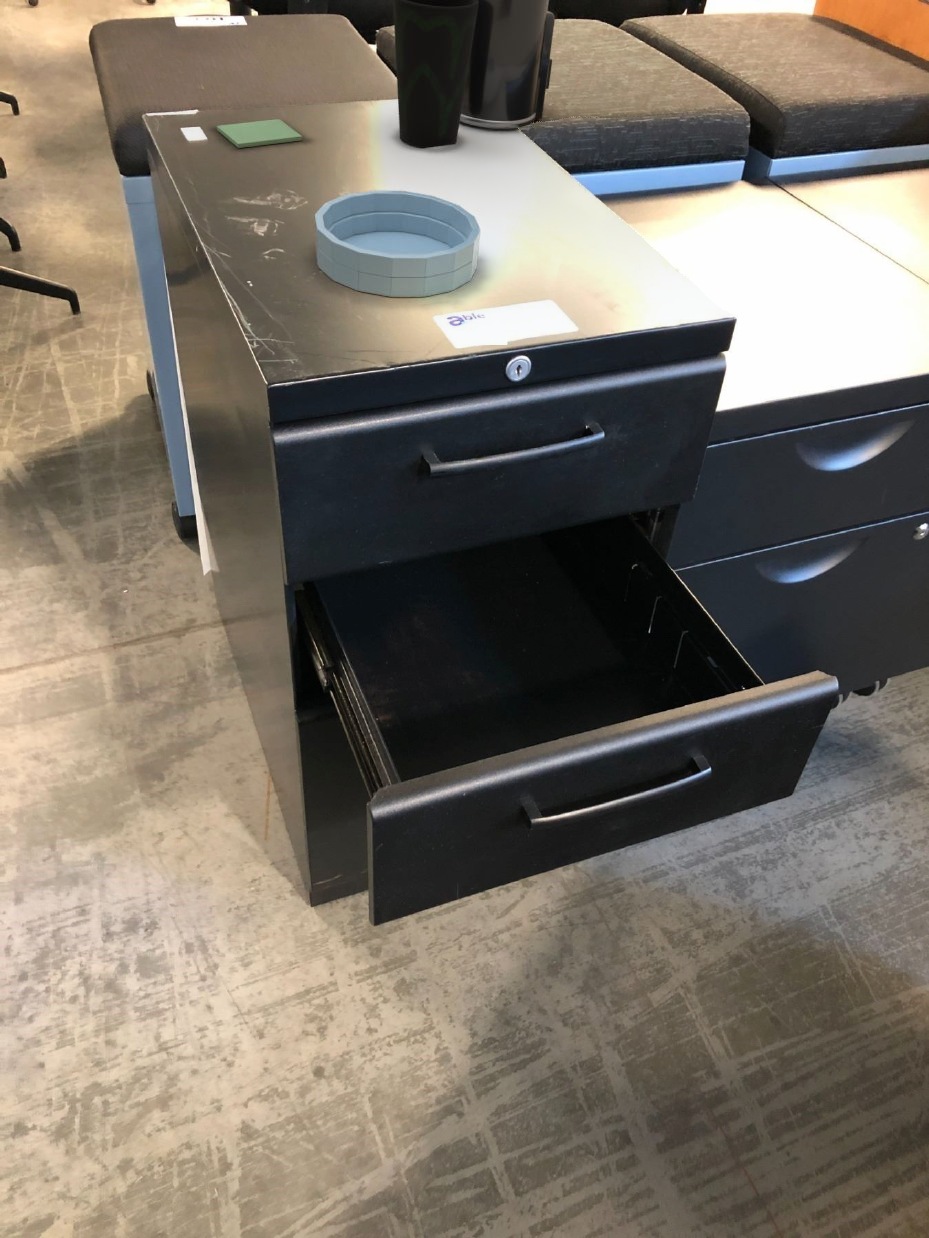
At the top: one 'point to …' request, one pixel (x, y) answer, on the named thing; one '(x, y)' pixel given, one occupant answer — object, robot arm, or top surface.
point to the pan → (396, 243)
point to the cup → (432, 67)
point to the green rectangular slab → (259, 133)
